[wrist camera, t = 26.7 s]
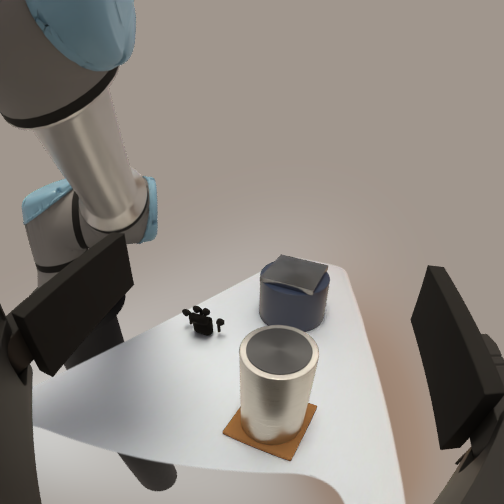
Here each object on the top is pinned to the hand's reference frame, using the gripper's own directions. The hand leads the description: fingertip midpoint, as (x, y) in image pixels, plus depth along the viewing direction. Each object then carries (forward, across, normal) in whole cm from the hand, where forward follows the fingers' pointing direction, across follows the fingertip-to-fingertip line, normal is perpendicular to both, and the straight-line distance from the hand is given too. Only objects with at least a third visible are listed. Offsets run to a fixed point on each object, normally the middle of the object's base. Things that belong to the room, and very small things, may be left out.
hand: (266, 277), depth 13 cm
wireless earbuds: (+23, -13, -26) cm, 37 cm away
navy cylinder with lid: (+32, 0, -26) cm, 41 cm away
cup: (+10, 0, -26) cm, 27 cm away
